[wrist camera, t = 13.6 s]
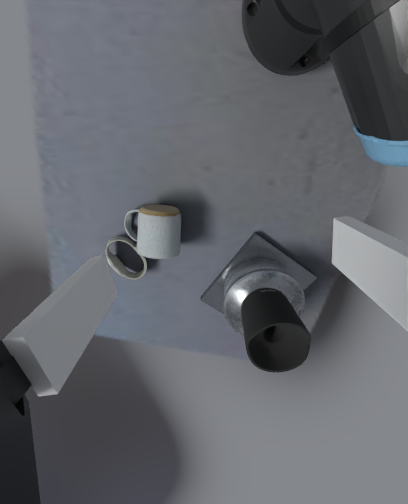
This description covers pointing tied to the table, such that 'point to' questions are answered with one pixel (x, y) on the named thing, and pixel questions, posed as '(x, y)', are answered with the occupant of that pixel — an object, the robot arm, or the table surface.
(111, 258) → the beige oval ring
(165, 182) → the table surface
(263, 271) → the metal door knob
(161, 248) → the ceramic mug
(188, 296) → the table surface
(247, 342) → the pen holder
